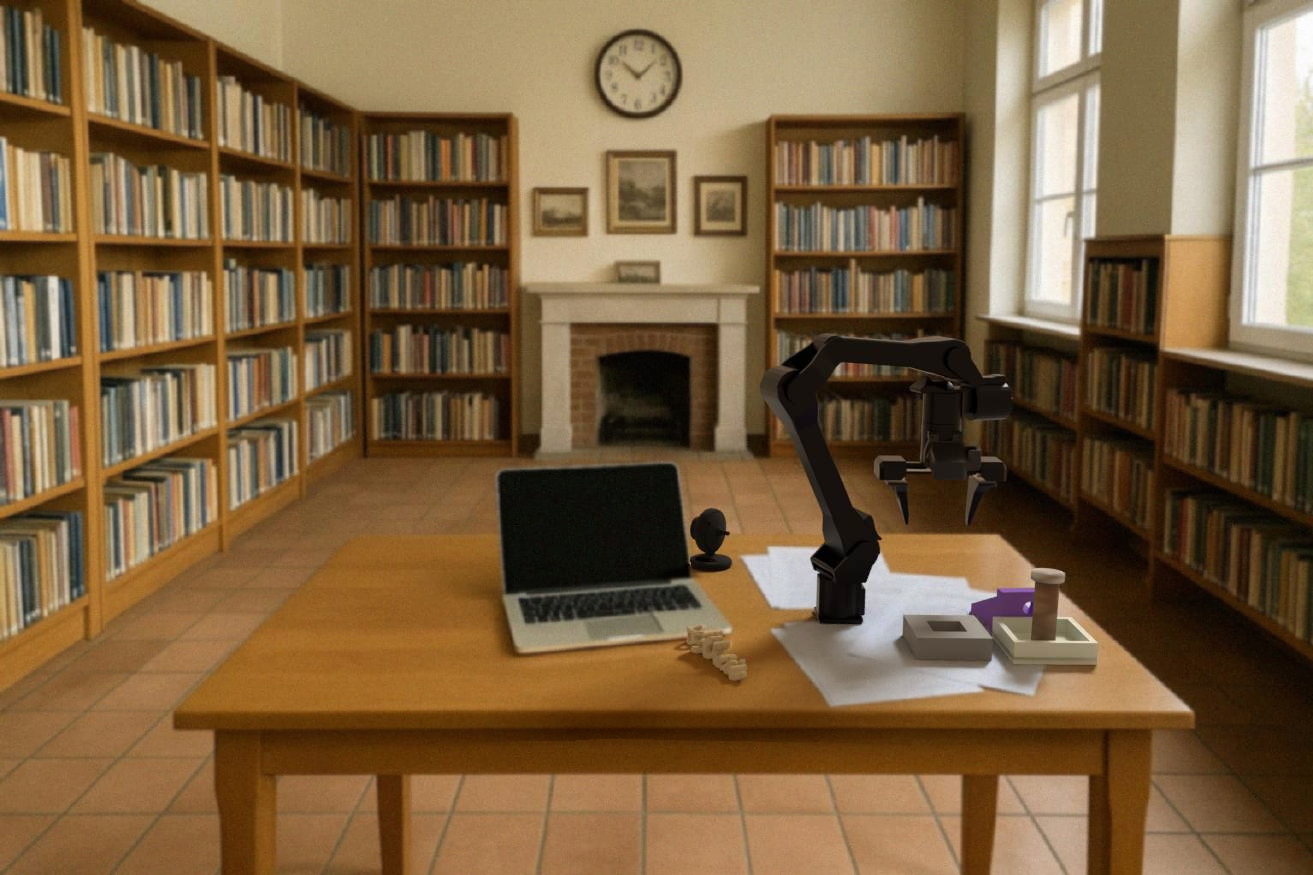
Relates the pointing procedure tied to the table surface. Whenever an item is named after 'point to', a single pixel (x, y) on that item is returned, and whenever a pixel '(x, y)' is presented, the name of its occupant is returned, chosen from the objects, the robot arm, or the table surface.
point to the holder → (947, 637)
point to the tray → (1044, 642)
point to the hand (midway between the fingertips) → (936, 524)
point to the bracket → (1005, 605)
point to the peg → (1045, 603)
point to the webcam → (709, 540)
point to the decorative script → (716, 651)
